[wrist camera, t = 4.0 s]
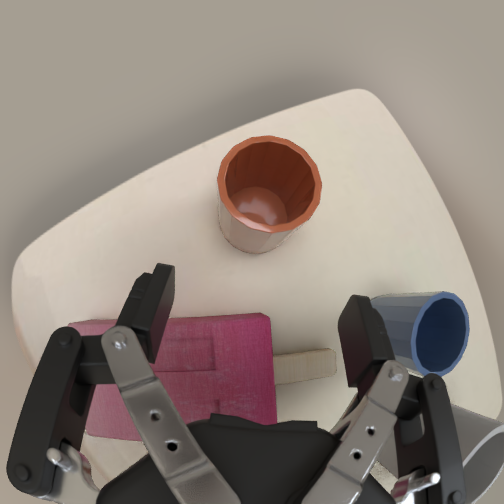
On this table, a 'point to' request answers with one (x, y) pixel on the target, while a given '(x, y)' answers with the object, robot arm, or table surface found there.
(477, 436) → the cup
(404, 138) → the table surface
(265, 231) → the terracotta tumbler
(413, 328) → the blue tumbler
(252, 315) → the popsicle
